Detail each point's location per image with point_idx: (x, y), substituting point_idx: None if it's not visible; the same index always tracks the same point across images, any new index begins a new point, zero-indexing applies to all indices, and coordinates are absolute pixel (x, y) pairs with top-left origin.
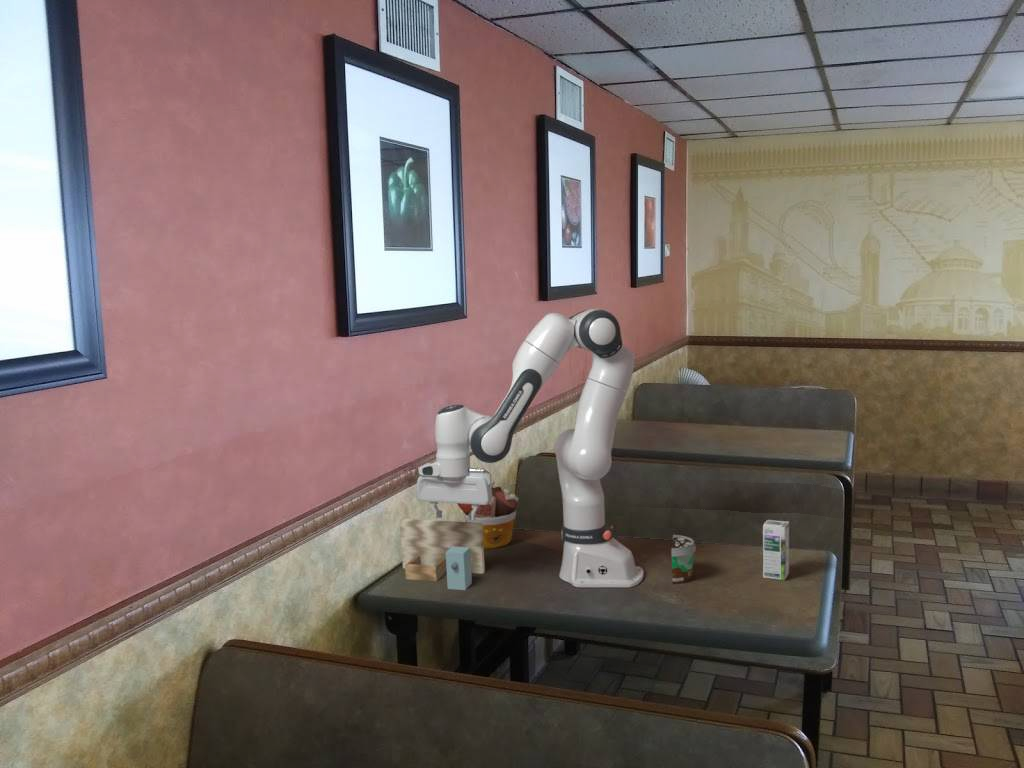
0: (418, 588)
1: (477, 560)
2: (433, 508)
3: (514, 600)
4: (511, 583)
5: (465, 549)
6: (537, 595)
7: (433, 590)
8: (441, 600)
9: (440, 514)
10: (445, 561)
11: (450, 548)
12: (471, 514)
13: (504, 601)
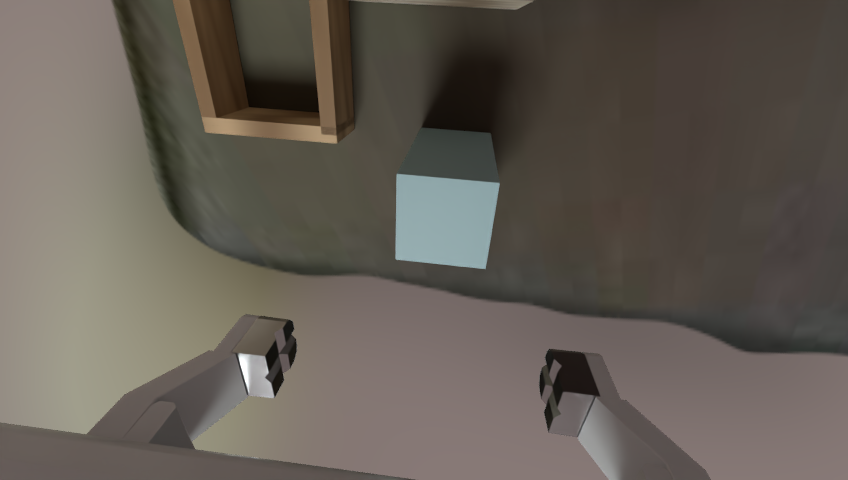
0: (324, 196)
1: (496, 4)
2: (203, 425)
3: (657, 263)
4: (652, 115)
5: (481, 216)
6: (746, 221)
7: (378, 208)
8: (430, 275)
9: (278, 353)
10: (333, 17)
11: (398, 207)
12: (582, 437)
13: (624, 272)
